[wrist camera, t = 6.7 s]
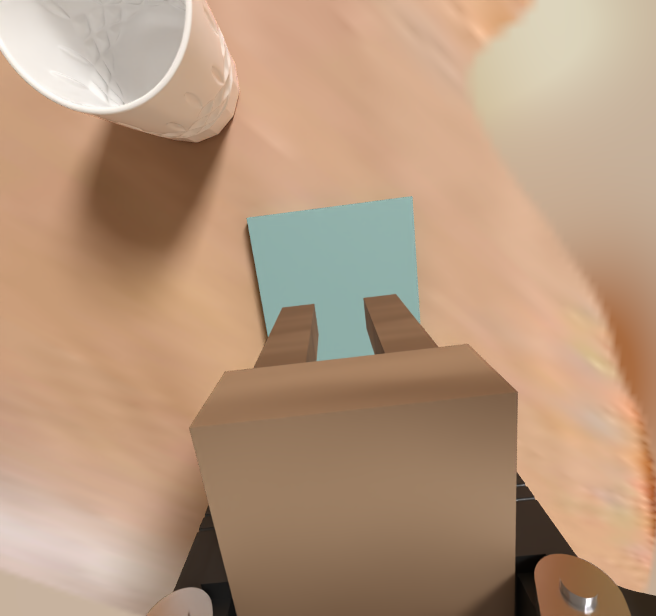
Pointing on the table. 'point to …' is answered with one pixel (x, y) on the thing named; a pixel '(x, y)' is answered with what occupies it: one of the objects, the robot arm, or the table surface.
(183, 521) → the table surface
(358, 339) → the board
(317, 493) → the tan slab with prongs
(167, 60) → the white cup
